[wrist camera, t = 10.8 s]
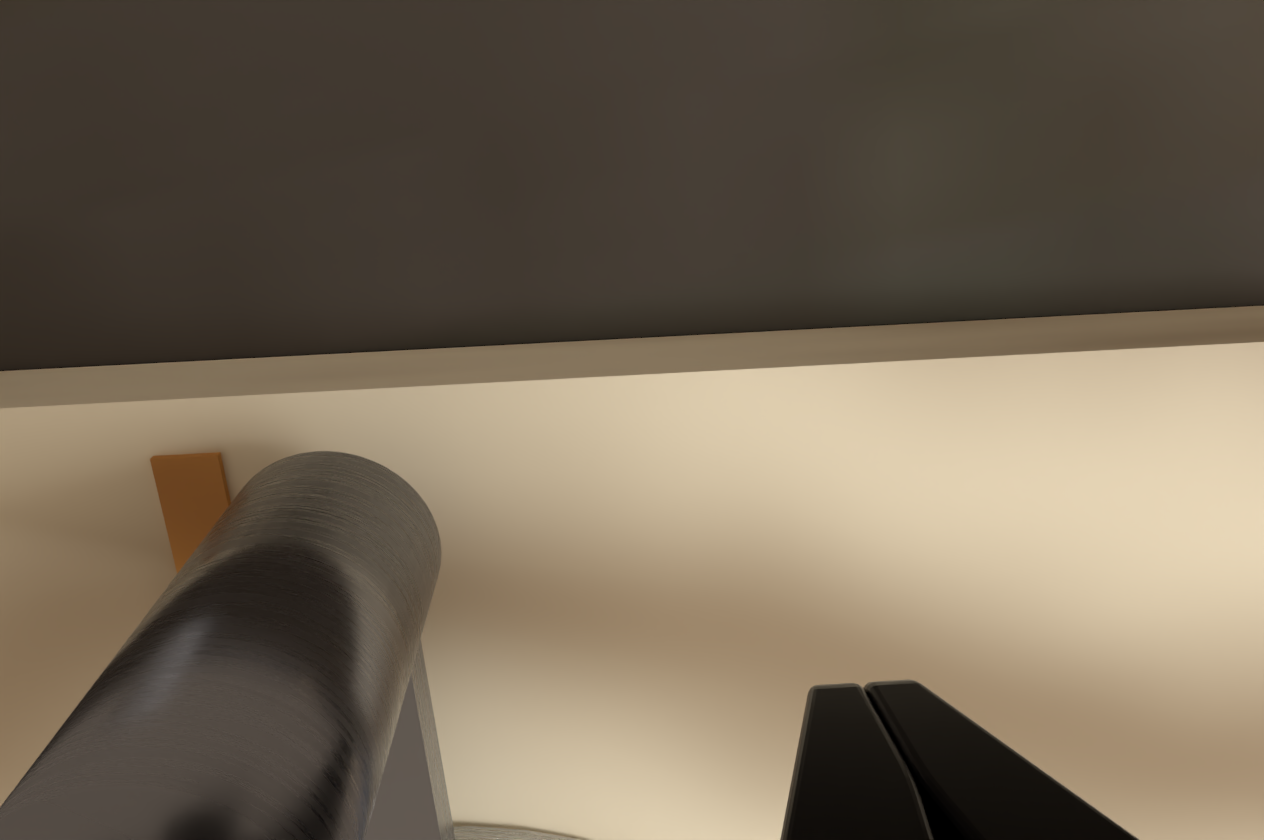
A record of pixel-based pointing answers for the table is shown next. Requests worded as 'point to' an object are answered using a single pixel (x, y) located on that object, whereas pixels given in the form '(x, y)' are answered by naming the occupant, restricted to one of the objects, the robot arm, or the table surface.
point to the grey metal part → (268, 682)
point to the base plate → (719, 550)
